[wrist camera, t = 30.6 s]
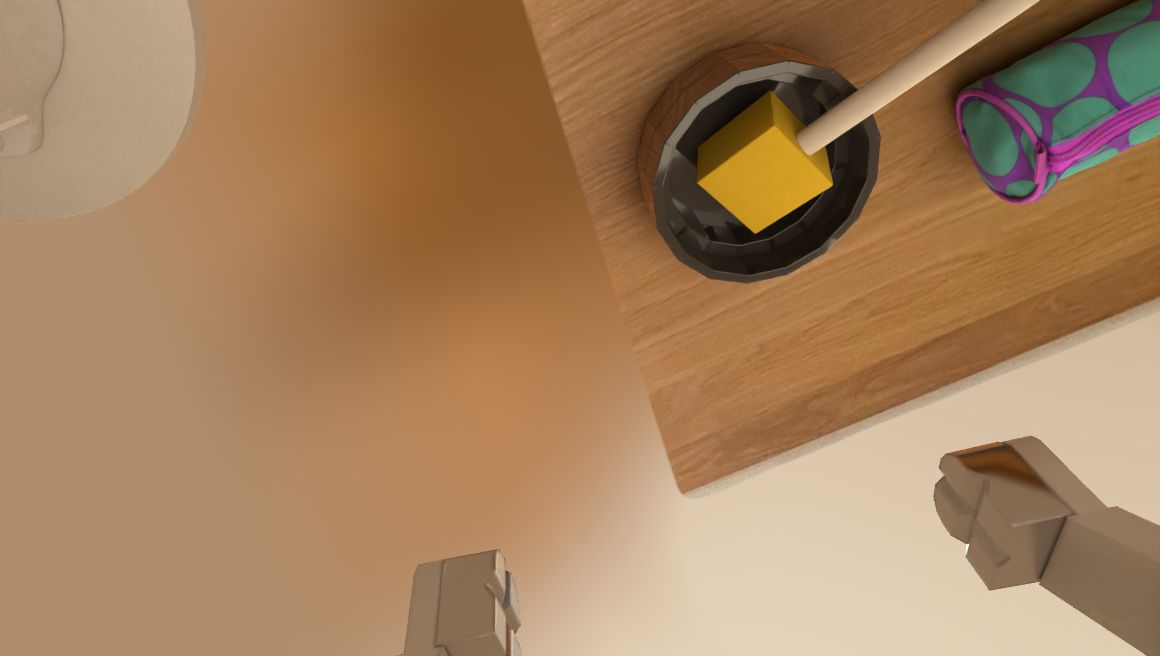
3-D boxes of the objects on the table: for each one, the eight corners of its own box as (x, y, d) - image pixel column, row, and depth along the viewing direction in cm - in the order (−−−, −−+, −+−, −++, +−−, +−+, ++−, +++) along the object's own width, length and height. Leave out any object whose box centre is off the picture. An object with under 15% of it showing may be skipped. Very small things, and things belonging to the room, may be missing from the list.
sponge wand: (1071, 37, 31) (1044, 1, 34) (1016, -55, 28) (991, -86, 31) (755, 234, 43) (752, 197, 46) (696, 183, 41) (697, 147, 43)
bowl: (650, 260, 49) (666, 302, 44) (622, 69, 41) (638, 94, 36) (832, 219, 48) (870, 257, 44) (842, 18, 40) (890, 36, 35)
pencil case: (1266, -94, 39) (1459, -89, 31) (1246, 43, 44) (1409, 77, 36) (934, 71, 43) (1032, 113, 35) (950, 180, 48) (1039, 238, 40)
